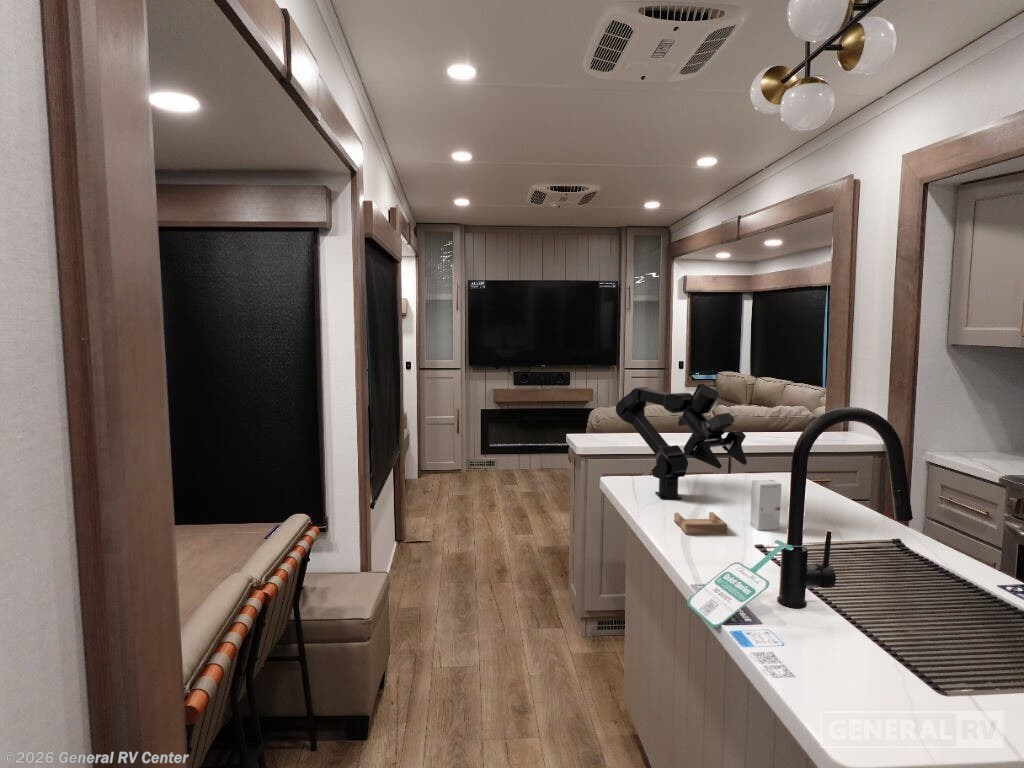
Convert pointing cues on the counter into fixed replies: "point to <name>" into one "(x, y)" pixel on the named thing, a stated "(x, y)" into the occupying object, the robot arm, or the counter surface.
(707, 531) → the tray
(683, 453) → the robot arm
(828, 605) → the counter surface
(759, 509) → the skincare box
